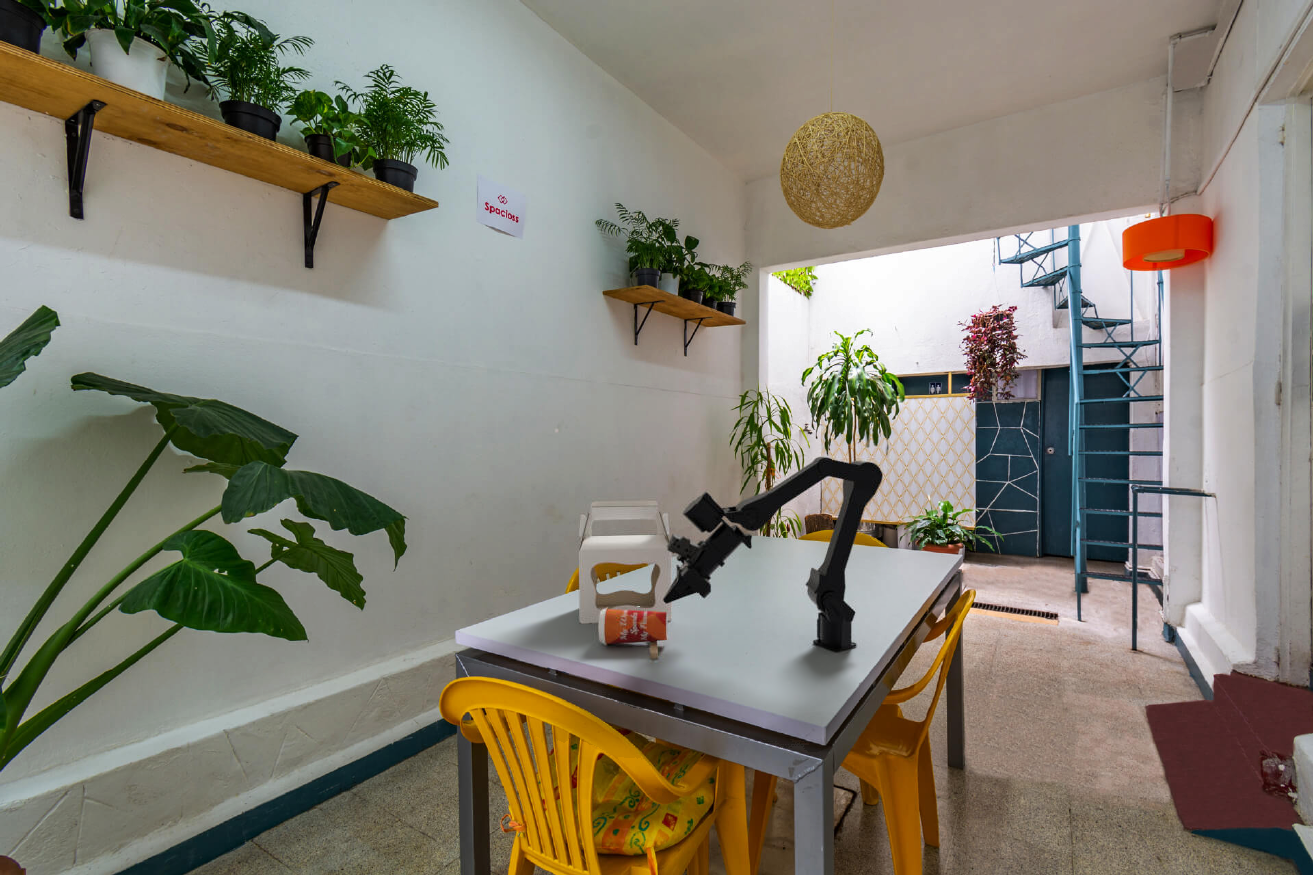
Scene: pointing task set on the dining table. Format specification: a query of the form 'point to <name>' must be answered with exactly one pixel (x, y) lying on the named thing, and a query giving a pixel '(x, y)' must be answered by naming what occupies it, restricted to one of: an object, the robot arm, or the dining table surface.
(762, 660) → the dining table surface
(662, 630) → the paper cup
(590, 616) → the gable box
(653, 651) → the oak strip
